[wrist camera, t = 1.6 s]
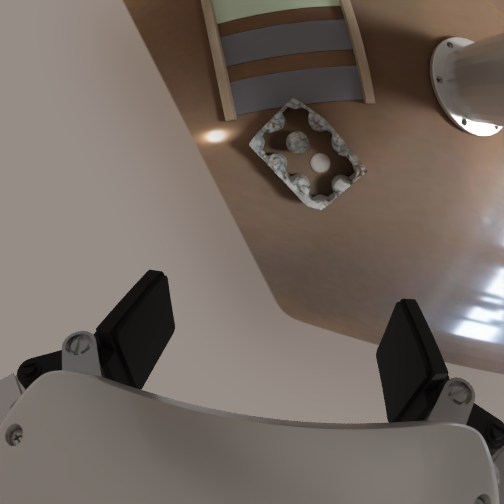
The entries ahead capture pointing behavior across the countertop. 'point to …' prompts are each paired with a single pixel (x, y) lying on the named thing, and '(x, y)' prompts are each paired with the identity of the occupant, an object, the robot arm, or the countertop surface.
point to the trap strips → (298, 81)
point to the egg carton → (319, 161)
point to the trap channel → (222, 69)
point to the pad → (261, 7)
